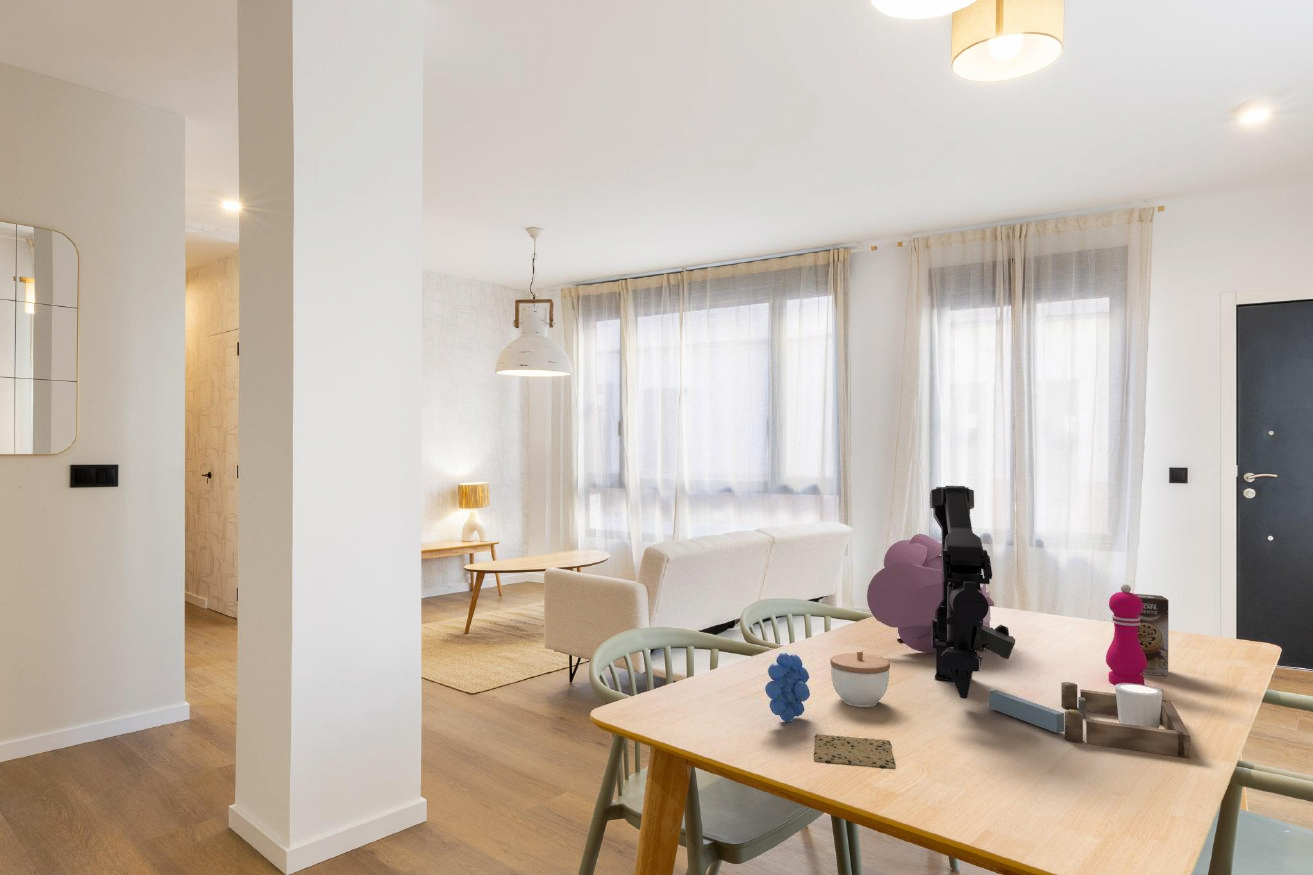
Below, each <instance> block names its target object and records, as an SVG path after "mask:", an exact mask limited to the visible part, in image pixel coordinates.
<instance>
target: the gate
mask: <svg viewBox="0 0 1313 875" xmlns="http://www.w3.org/2000/svg"><path fill="white" fill-rule="evenodd" d="M988 697H989V698H988V701H989V704H988V707H989V708H990V709H993V710H995V711H997V712H1000V713H1003V714H1004V715H1008V716H1011V717H1013V718H1016V719H1018V720H1021V721H1024V722H1027V723H1029V724H1032V725H1035V726H1037V727H1040V728H1043V729H1046V730H1048V731H1050V732H1054V733H1056V734H1058V733H1062V732H1063V733H1065V712H1063V711H1059V710H1057V709H1054V708H1050V707H1047V706H1045V705H1042V704H1038V703H1035V702H1033V701H1030V700H1027V699H1024V698H1021V697H1018V696H1016V695H1013V694H1010V693H1007V692H1004V691H1001V690H999V689H992V690H989V692H988Z"/></svg>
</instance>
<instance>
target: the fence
mask: <svg viewBox="0 0 1313 875" xmlns="http://www.w3.org/2000/svg"><path fill="white" fill-rule="evenodd" d="M1060 685H1061V686H1060V688H1061V689H1060V690H1061V696H1060V697H1061V701H1060V702H1061V705H1060V706H1061V707H1062V708H1063V709H1066V711H1064V739H1065V740H1066V741H1067V742H1069V743H1070V742H1071V743H1078V744H1079V743H1083V742H1084V719H1085V736H1086V737H1085V740H1086V744H1091V745H1097V746H1104V747H1111V748H1112V747H1113V748H1118V749H1125V750H1131V751H1132V750H1133V751H1139V752H1144V753H1145V752H1146V753H1153V754H1160V755H1167V756H1172V757H1179V758H1180V757H1181V758H1185V759H1186V758H1188V759H1191V758H1192V757H1191V756H1192V753H1191V750H1192V748H1191V741H1192V740H1191V734H1190V732H1189V731H1188V729H1187V726H1186V725H1185V723H1184V722H1183V720H1182V718H1181V716H1180V714H1179V712H1178V711H1177V709H1176V707H1175V706H1174V703H1173V701H1172V700H1171V699H1166V698H1164V699H1163V698H1162V703H1161V713H1160V722H1161V723H1162V726H1163V728H1160V727H1159V728H1152V727H1144V726H1137V725H1129V724H1122V723H1119V722H1113V721H1108V720H1107V721H1105V720H1098V719H1090V718H1086V712H1088V711H1089V712H1090V713H1096V714H1105V715H1110V716H1111V715H1112V716H1118V708H1117V699H1116V692H1105V691H1097V690H1091V689H1090V690H1089V689H1088V690H1087V689H1080V696H1078V684H1077V683H1075V682H1070V681H1063V682H1061V683H1060ZM1077 709H1078V710H1077Z"/></svg>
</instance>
